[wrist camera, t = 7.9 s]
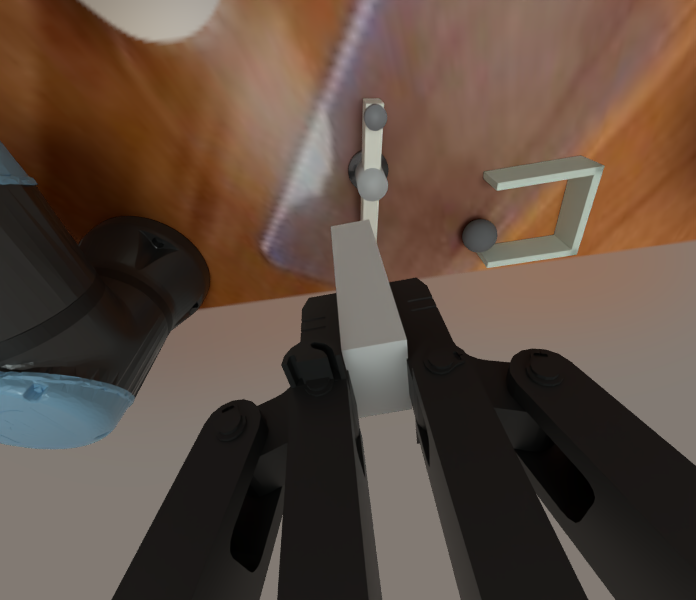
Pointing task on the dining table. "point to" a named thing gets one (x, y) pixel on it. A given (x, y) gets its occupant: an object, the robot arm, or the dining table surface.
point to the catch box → (572, 212)
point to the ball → (479, 235)
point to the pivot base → (354, 163)
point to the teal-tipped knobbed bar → (371, 161)
